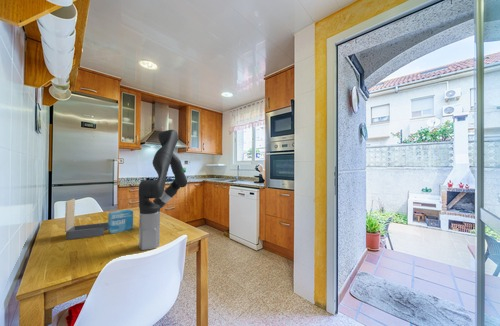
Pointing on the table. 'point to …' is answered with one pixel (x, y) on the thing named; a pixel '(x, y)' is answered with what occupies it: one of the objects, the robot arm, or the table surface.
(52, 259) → the table surface
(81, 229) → the mailer box
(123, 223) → the blue carton
